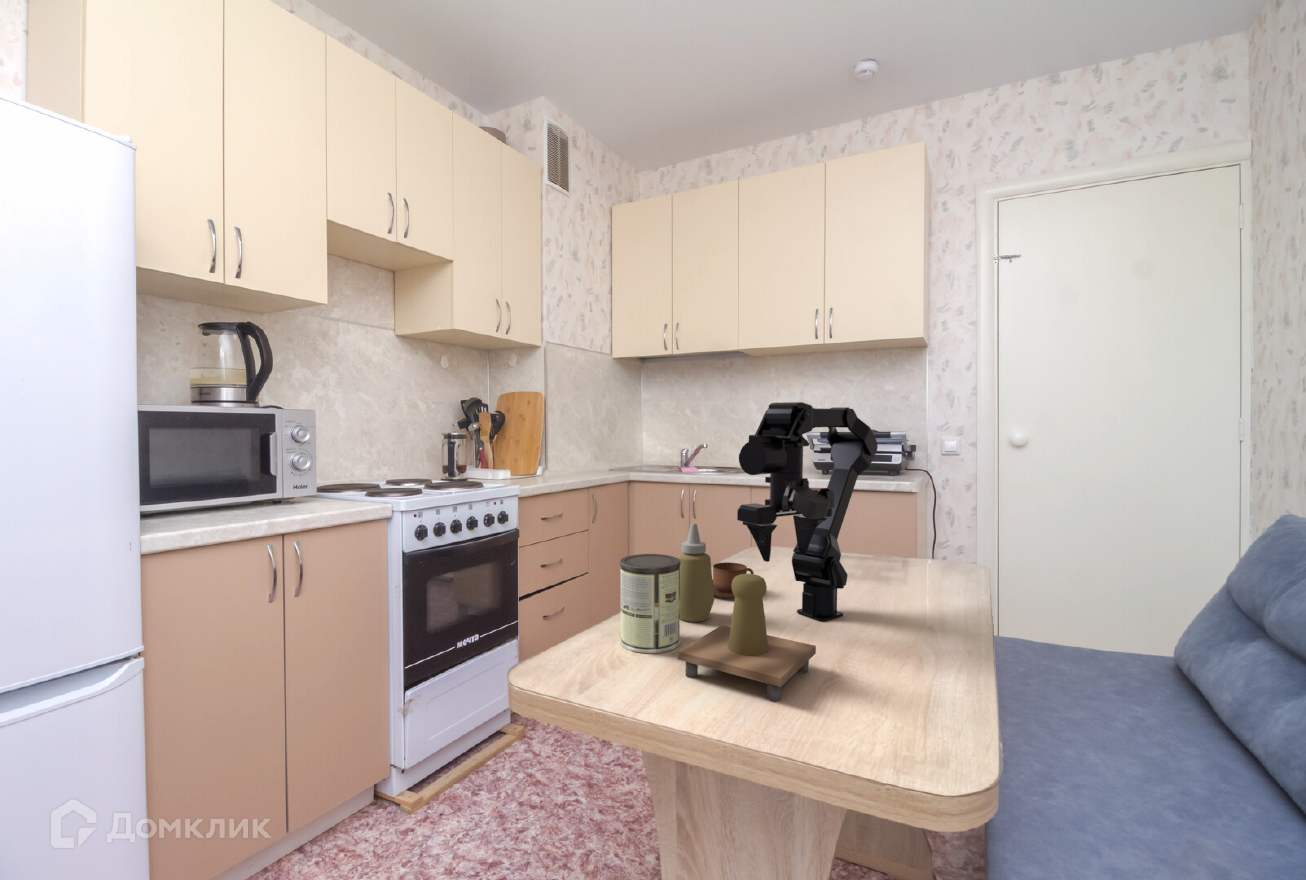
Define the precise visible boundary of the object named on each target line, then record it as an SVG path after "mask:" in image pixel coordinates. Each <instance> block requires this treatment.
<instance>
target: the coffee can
mask: <svg viewBox="0 0 1306 880" xmlns="http://www.w3.org/2000/svg"><path fill="white" fill-rule="evenodd" d="M680 564H681V561H680V559H678V558H677V556H676V557H675V556H672V555H668V554H660V553H641V554H640V553H639V554H633V555H632V554H631V555H628V556H625V557H623V558H621V559H620V560H619V566H620V640H619V641H620V643H619V644H620V645H621V646H622V647H623V648H624V649H626V650H628V651H631V652H635V653H640V654H661V653H665V652H670V651H673V650H674V649H676V648H677V647H678V646H679V645H680V643H681V641H680V630H681V629H680V619H679V617H680V615H679V611H680Z"/></svg>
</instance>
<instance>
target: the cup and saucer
mask: <svg viewBox="0 0 1306 880" xmlns="http://www.w3.org/2000/svg"><path fill="white" fill-rule="evenodd" d="M747 572H749V573H750V574H754V570H753V569H752V568H750V567H747V565H745V564H742V563H737V562H731V561H730V562H725V561H724V562H718V563H714V564H712V581H713V592H714V597H718V598H723V599H724V598H725V599H735V596H734V594H733V592H732V581H733V579H734V577H736V576H737V575H740V574H748V573H747ZM754 575H755V574H754Z"/></svg>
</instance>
